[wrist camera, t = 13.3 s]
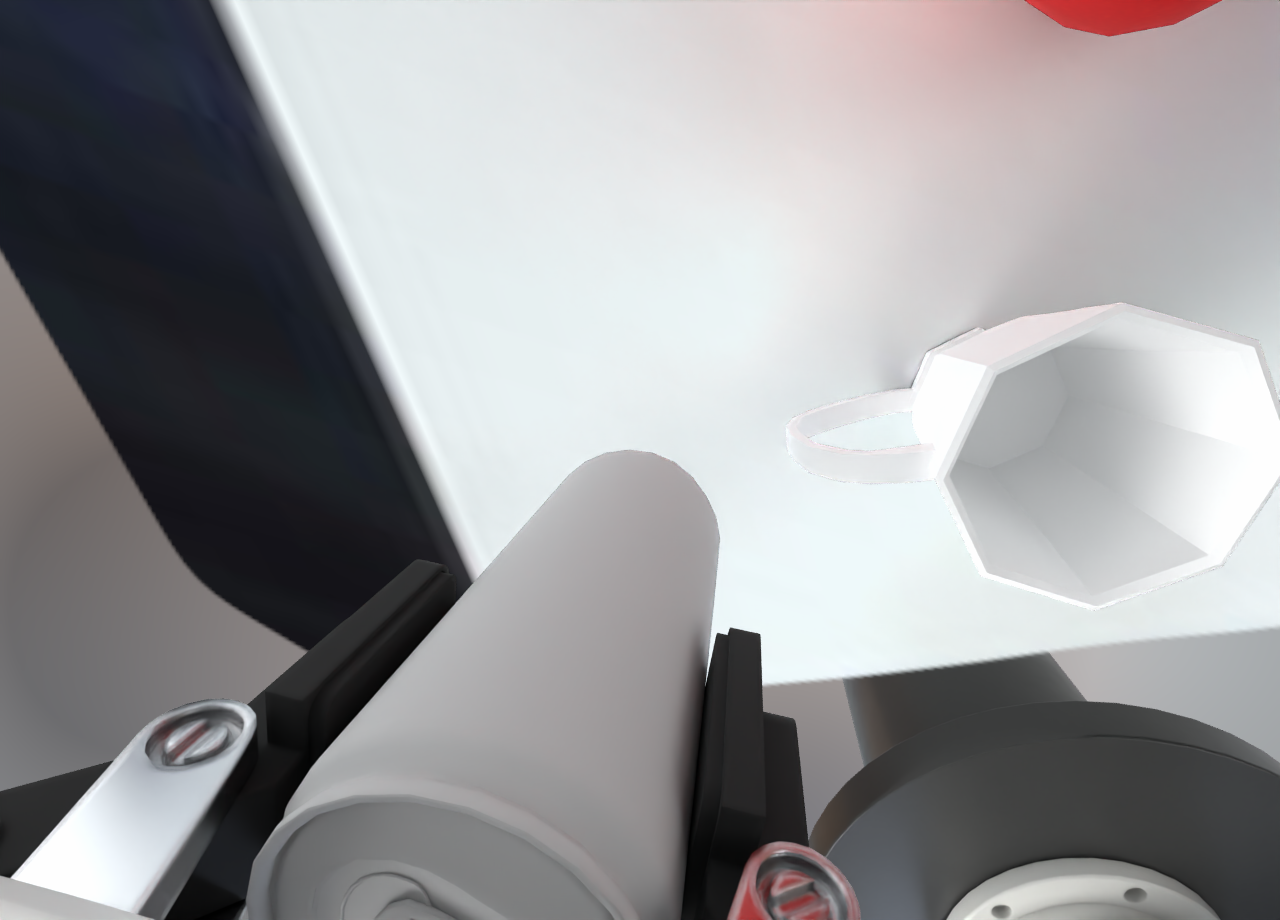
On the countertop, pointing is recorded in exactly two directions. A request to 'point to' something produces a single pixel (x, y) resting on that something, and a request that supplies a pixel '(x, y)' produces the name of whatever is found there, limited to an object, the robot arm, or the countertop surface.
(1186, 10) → the tomato
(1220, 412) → the cup
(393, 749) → the beverage can
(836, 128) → the countertop surface
